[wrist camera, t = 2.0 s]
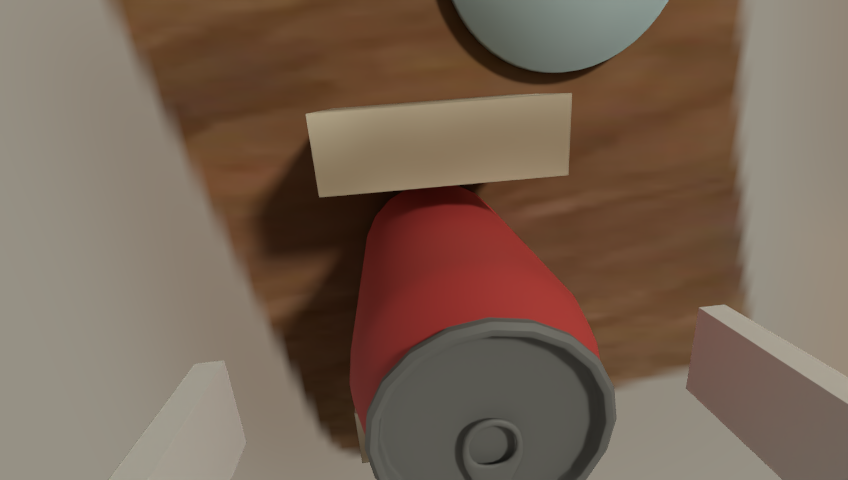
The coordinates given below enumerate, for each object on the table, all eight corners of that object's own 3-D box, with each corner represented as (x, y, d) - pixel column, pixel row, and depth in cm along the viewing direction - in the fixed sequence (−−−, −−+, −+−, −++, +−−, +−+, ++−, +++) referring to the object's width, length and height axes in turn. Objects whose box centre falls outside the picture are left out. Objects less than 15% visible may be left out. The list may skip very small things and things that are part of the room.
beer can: (374, 311, 21) (358, 561, 10) (358, 185, 19) (315, 319, 7) (499, 298, 21) (626, 525, 10) (499, 174, 19) (660, 284, 8)
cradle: (331, 108, 18) (305, 113, 12) (513, 94, 18) (572, 92, 12) (368, 369, 22) (362, 463, 16) (513, 352, 22) (555, 438, 17)
